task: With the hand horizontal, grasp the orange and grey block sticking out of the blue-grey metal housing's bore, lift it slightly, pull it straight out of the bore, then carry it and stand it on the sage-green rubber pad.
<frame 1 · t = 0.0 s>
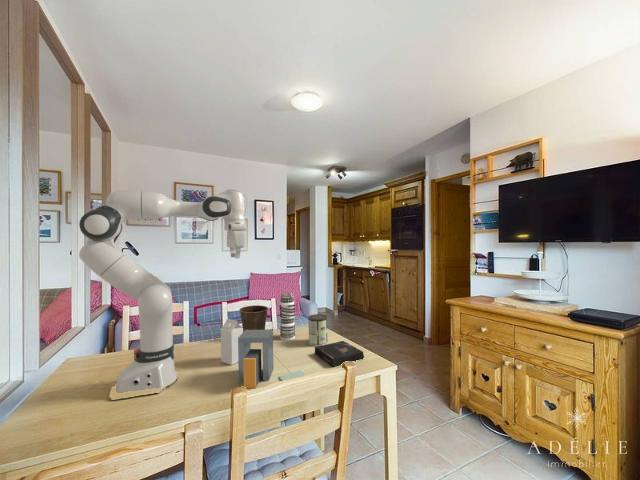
hand: (235, 257, 126), 48 cm above the table, tool pointing down, fingers open, 8 cm apart
white and brown cylinder: (287, 337, 162), on the table
plant pot: (254, 336, 165), on the table
coffee can: (318, 343, 153), on the table
pad: (295, 379, 113), on the table
milk carton: (232, 361, 131), on the table
housing: (256, 374, 118), on the table
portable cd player: (339, 358, 134), on the table
orange and grey block: (253, 381, 112), on the table
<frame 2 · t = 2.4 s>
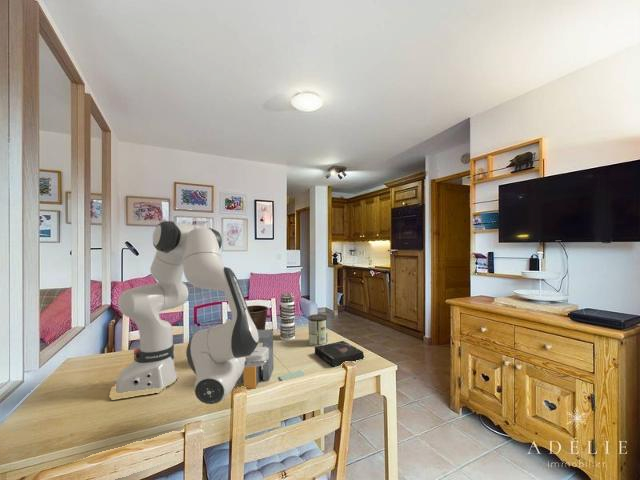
hand: (243, 347, 98), 19 cm above the table, tool horizontal, fingers open, 8 cm apart
nothing on the table moved.
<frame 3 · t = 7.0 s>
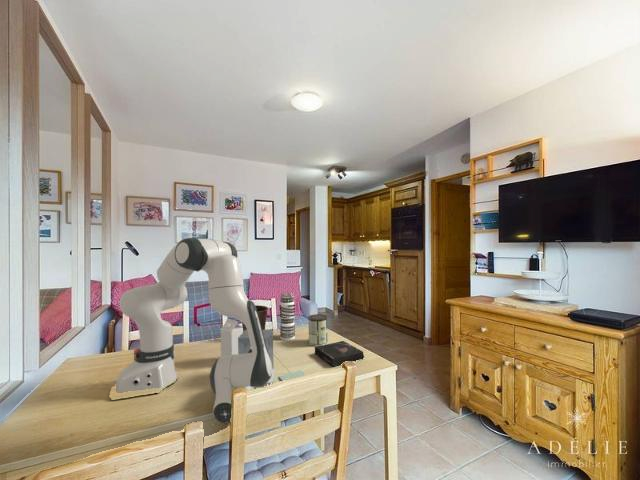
hand: (252, 367, 111), 6 cm above the table, tool horizontal, fingers closed on orange and grey block, 4 cm apart
orange and grey block: (253, 381, 112), on the table, touching gripper
everything else where it was.
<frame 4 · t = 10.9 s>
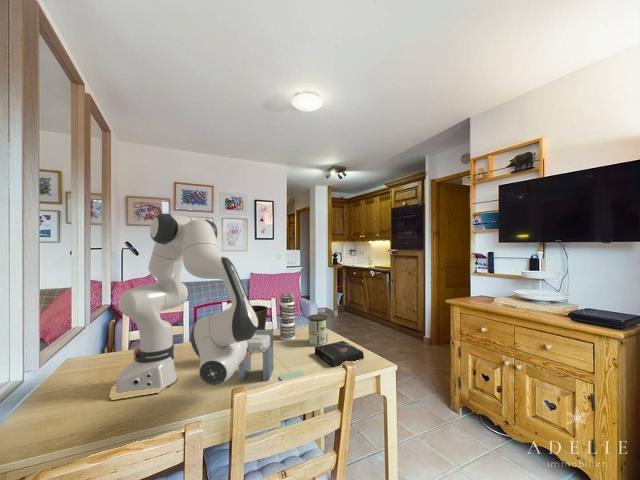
hand: (245, 334, 103), 21 cm above the table, tool horizontal, fingers closed on orange and grey block, 4 cm apart
orange and grey block: (245, 353, 103), point 15 cm above the table, tilted 12°, touching gripper
everything else where it was.
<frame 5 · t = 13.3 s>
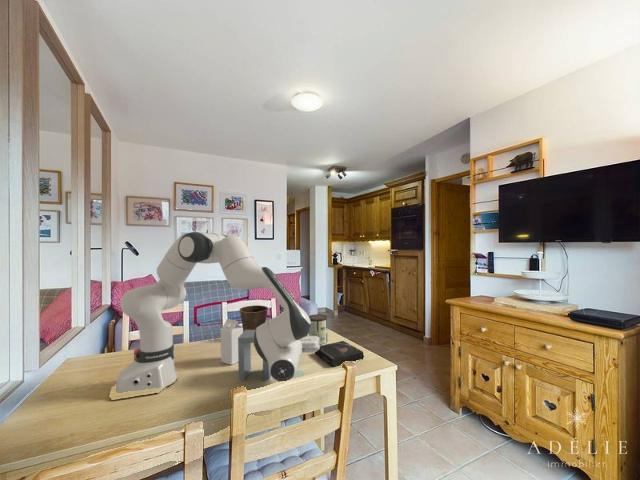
hand: (294, 336, 112), 18 cm above the table, tool horizontal, fingers closed on orange and grey block, 4 cm apart
orange and grey block: (294, 354, 111), point 11 cm above the table, tilted 12°, touching gripper
everything else where it was.
when the fingers open (8 cm above the table, at t = 15.3 s): orange and grey block stays where it is, resting on pad.
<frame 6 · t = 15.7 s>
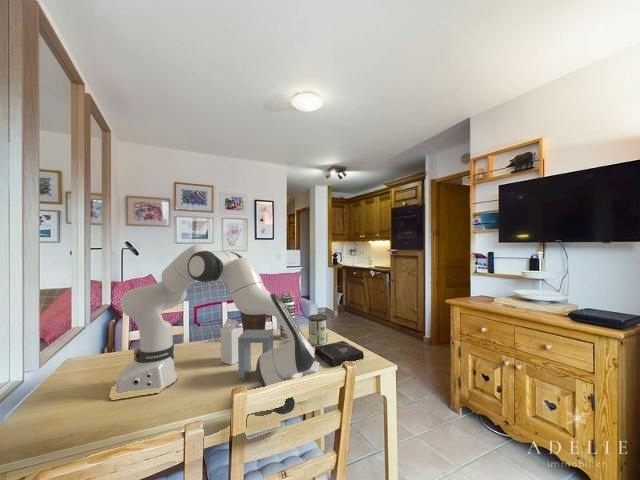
hand: (294, 360, 112), 8 cm above the table, tool horizontal, fingers open, 8 cm apart
orange and grey block: (294, 380, 111), point 1 cm above the table, touching pad
everything else where it was.
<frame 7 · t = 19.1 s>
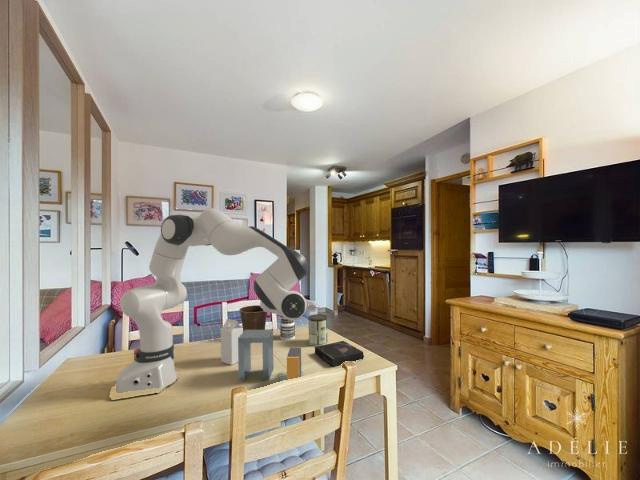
hand: (287, 303, 109), 31 cm above the table, tool horizontal, fingers open, 8 cm apart
nothing on the table moved.
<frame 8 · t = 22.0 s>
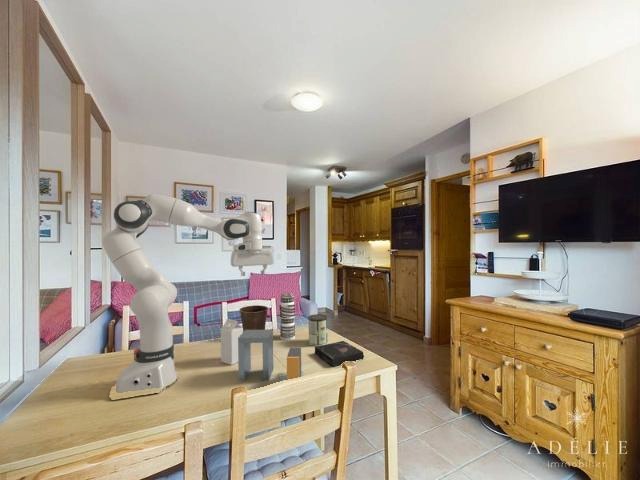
hand: (253, 275, 135), 39 cm above the table, tool pointing down, fingers open, 8 cm apart
nothing on the table moved.
at the end: orange and grey block inside the target area on the pad (1.5 cm from its centre), point 0.6 cm above the pad's base; orange and grey block tilted 0°; the gripper is holding nothing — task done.
